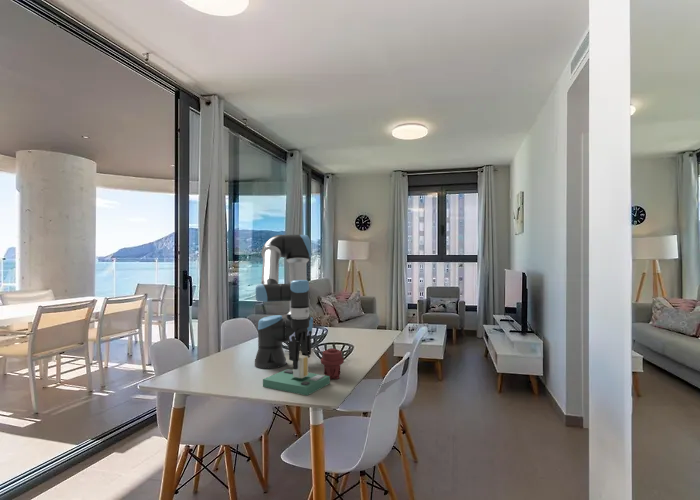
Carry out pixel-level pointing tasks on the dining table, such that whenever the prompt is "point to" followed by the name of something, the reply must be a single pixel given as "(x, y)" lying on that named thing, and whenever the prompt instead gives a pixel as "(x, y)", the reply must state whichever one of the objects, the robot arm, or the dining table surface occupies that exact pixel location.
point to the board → (296, 382)
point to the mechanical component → (332, 362)
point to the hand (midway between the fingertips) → (300, 375)
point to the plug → (303, 366)
